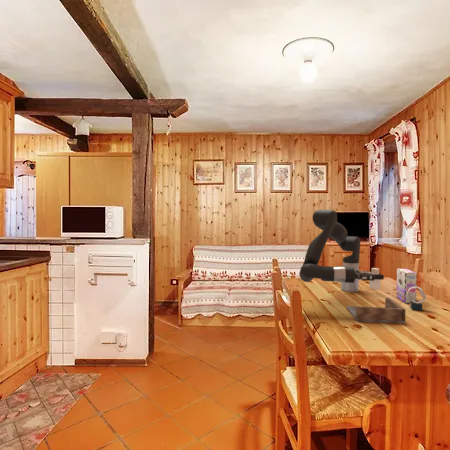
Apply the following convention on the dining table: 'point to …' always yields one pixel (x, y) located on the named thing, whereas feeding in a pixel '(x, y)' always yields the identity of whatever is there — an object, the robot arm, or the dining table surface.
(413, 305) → the watch
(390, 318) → the corner wooden bin
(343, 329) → the dining table surface
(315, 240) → the robot arm
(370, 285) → the pepper shaker
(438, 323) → the dining table surface
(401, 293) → the candy box
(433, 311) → the dining table surface
